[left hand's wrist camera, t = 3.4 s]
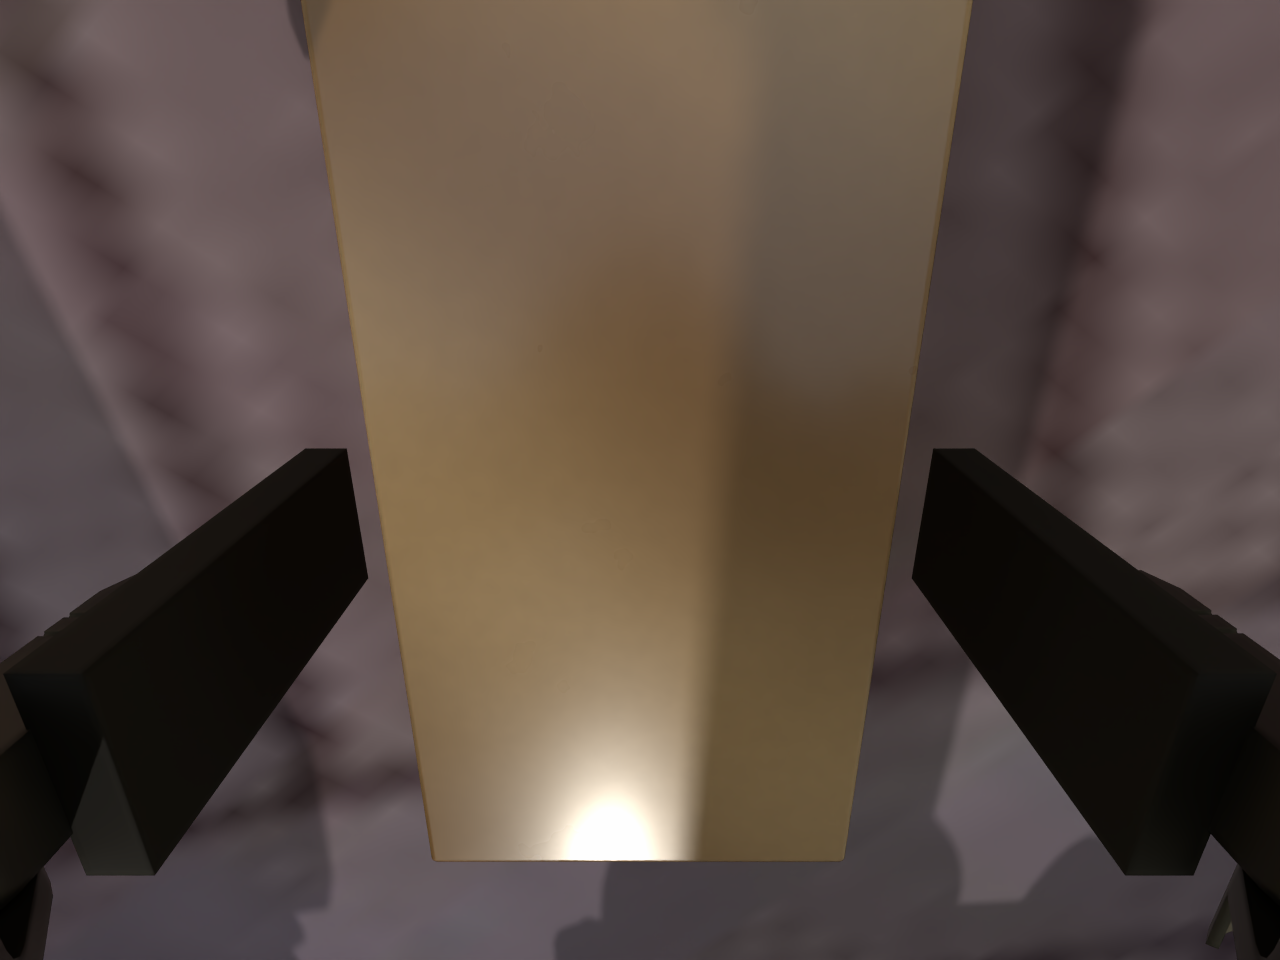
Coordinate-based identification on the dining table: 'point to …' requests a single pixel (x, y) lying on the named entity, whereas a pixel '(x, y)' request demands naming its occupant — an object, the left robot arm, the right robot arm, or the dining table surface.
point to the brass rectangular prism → (637, 396)
